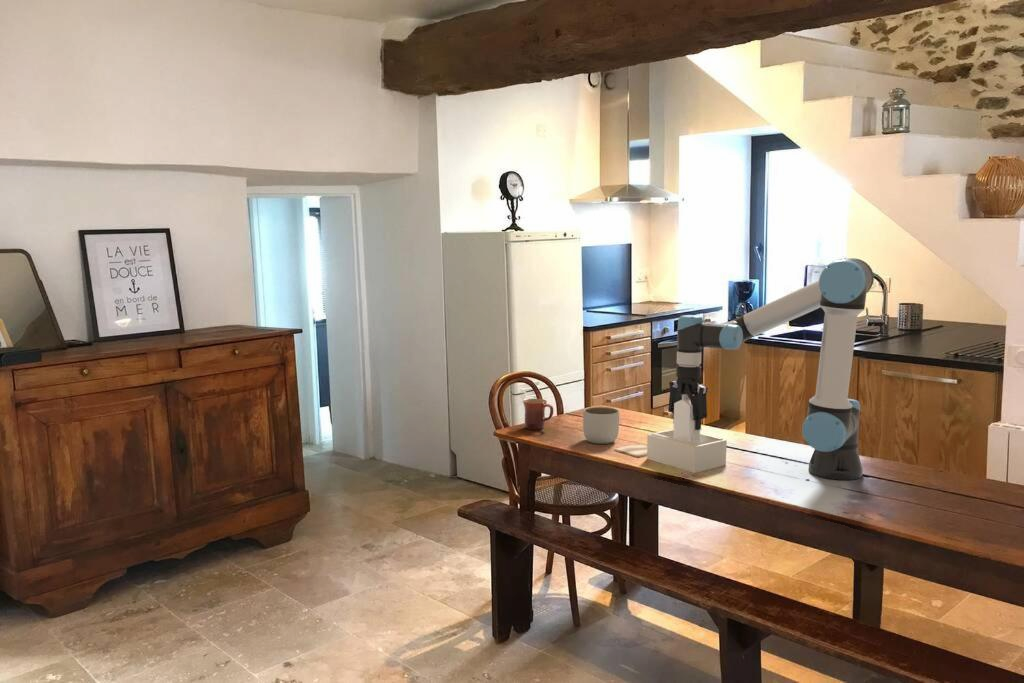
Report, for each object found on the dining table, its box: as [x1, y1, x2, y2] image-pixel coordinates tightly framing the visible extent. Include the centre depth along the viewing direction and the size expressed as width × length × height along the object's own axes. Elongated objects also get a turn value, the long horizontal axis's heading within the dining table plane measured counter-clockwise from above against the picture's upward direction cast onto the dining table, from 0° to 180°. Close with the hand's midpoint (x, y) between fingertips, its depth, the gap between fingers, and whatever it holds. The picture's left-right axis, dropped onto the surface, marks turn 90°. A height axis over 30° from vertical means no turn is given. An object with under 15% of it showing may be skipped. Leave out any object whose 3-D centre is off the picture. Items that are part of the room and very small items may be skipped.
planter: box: [582, 406, 620, 445], centre depth 286 cm, size 12×12×11 cm
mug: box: [522, 398, 554, 431], centre depth 304 cm, size 12×9×10 cm
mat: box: [614, 443, 647, 459], centre depth 274 cm, size 11×11×1 cm
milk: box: [673, 394, 701, 446], centre depth 260 cm, size 6×6×22 cm
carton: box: [646, 428, 728, 474], centre depth 261 cm, size 20×15×8 cm
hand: (686, 437), depth 260 cm, fingers closed on milk, 6 cm apart
